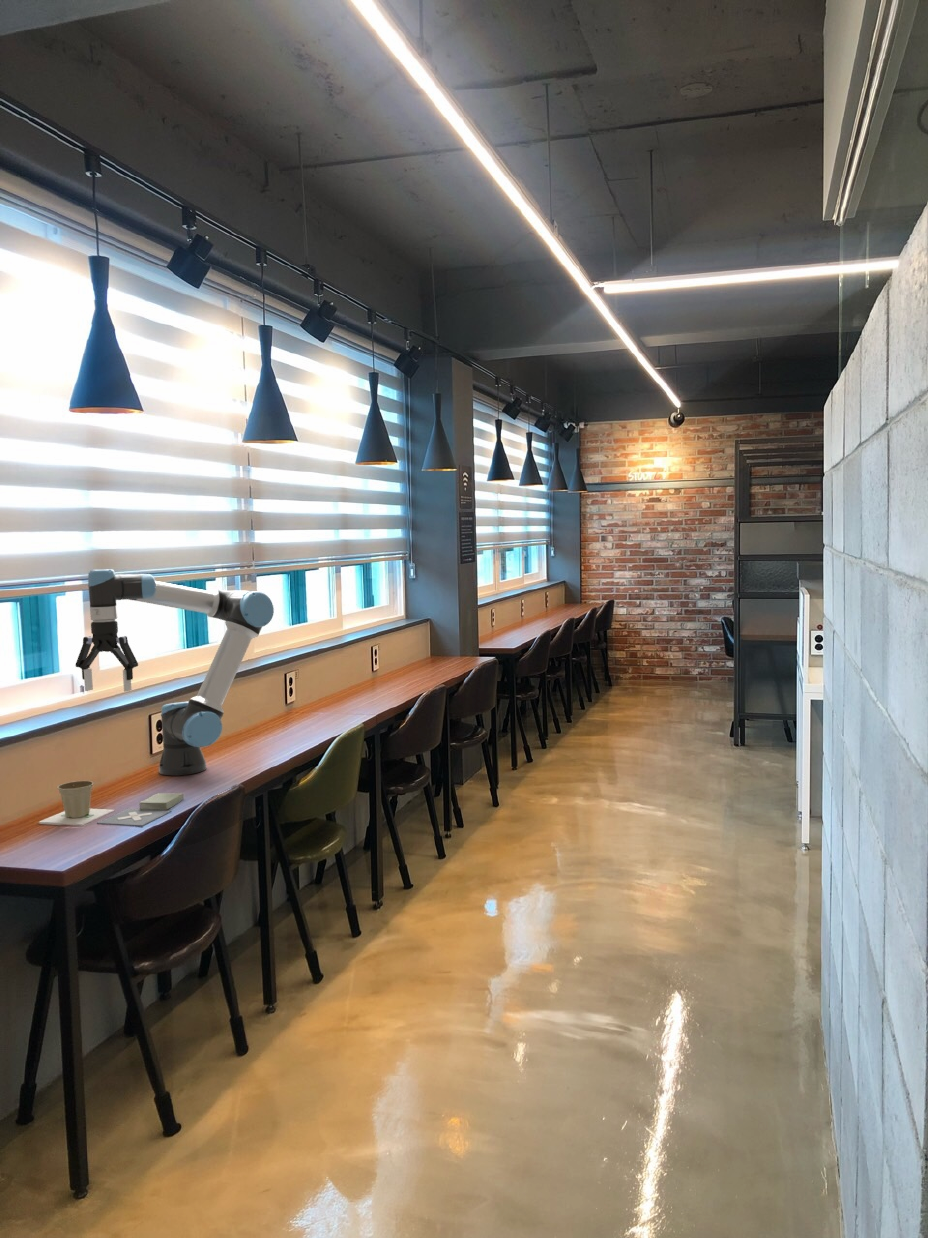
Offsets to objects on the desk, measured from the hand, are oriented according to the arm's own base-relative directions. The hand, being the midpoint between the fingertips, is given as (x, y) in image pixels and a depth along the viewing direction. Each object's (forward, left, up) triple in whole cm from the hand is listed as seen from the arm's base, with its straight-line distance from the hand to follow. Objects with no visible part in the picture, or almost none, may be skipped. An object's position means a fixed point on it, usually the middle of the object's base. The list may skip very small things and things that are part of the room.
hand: (108, 690), depth 287 cm
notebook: (+10, +23, -31) cm, 40 cm away
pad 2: (+23, +23, -32) cm, 45 cm away
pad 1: (+25, +6, -32) cm, 41 cm away
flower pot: (+25, +6, -31) cm, 40 cm away
